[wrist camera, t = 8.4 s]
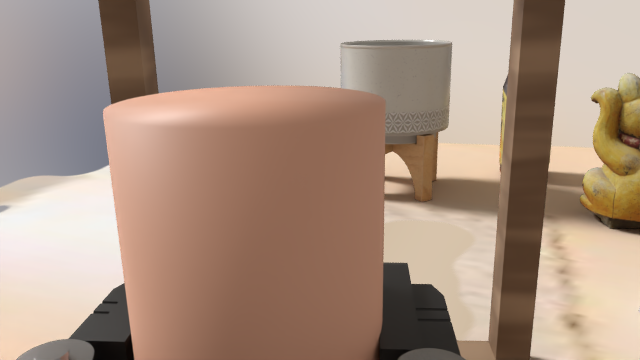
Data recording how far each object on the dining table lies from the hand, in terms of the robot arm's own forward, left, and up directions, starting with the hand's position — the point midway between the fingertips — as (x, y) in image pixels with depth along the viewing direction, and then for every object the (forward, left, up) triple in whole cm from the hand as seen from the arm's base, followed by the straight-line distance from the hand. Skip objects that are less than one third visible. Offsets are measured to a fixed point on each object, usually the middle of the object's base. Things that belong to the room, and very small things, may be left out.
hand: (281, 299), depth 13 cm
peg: (-2, -2, -7) cm, 8 cm away
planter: (+47, +32, -15) cm, 59 cm away
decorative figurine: (+53, +6, -15) cm, 56 cm away
